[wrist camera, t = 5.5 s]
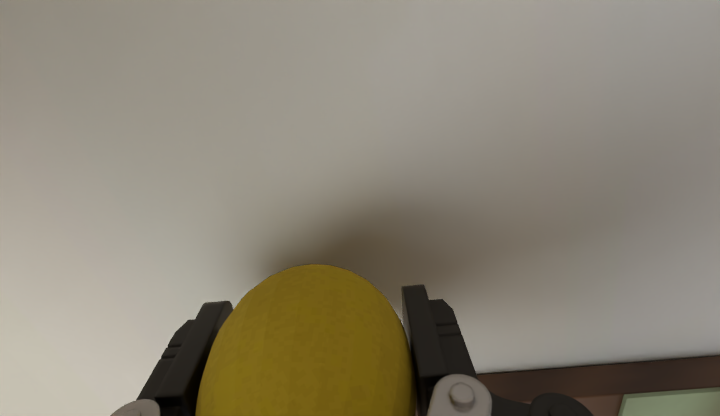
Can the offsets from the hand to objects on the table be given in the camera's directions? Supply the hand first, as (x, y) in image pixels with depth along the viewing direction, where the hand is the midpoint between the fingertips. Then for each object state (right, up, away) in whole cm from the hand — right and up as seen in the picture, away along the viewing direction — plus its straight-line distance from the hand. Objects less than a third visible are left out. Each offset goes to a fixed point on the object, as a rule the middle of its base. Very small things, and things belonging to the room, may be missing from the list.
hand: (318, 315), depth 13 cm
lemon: (0, +1, +2) cm, 2 cm away
